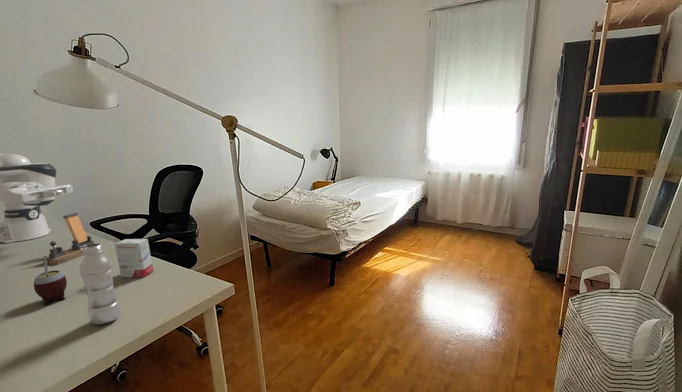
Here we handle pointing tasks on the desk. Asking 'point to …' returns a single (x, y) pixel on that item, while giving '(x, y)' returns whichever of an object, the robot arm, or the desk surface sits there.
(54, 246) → the toggle lever
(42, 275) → the mate gourd
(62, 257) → the switch panel
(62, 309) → the desk surface
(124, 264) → the ink box
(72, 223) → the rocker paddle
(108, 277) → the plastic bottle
